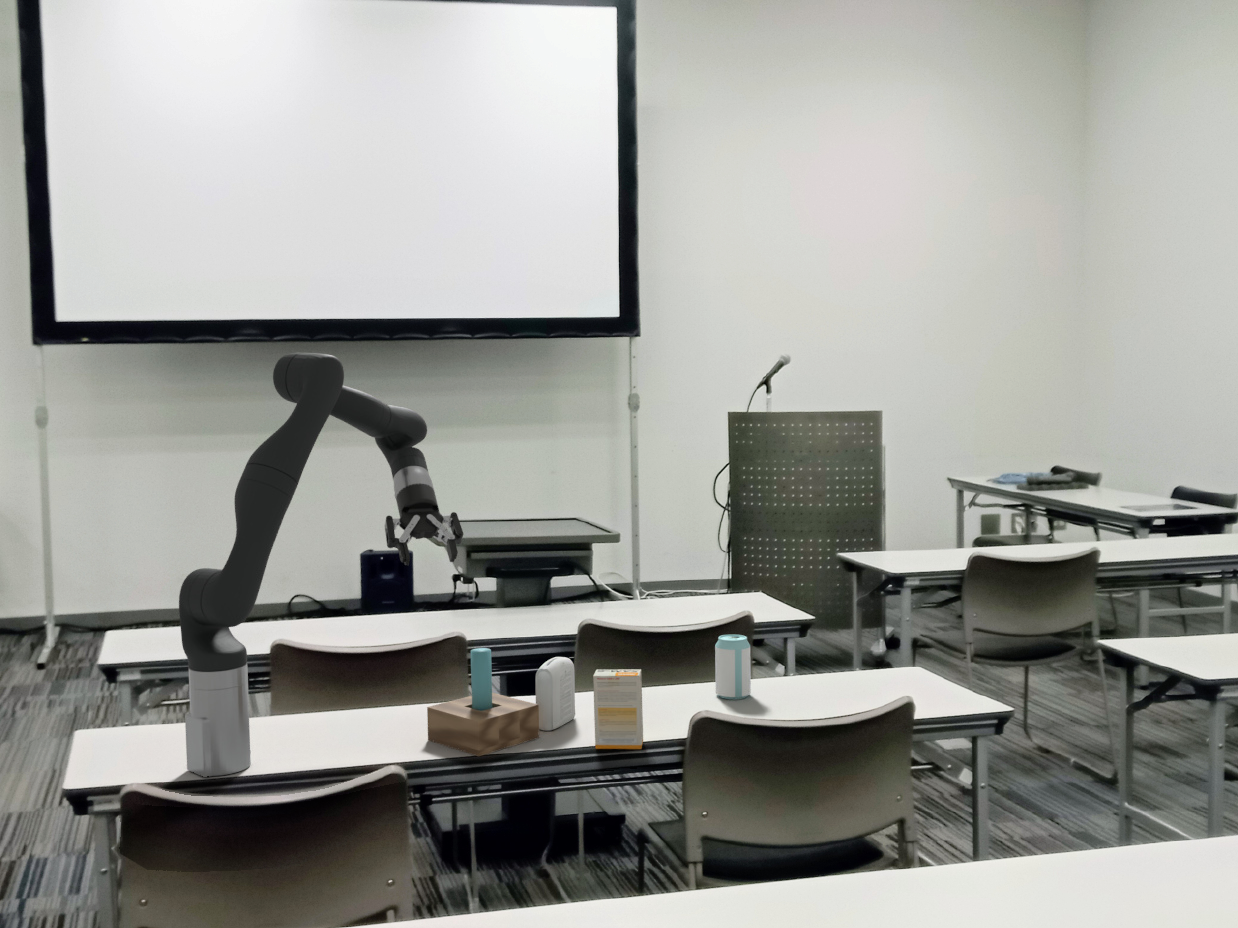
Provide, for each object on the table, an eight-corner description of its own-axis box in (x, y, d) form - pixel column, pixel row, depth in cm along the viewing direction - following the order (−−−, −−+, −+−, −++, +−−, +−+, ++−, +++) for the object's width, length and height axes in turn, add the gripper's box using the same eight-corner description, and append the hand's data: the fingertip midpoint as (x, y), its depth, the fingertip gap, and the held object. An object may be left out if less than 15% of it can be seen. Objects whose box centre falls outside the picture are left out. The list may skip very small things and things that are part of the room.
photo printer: (557, 715, 220) (556, 651, 220) (578, 717, 219) (577, 653, 218) (532, 730, 211) (531, 663, 210) (553, 732, 209) (552, 665, 209)
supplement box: (643, 741, 203) (642, 668, 202) (641, 750, 198) (640, 675, 198) (597, 741, 204) (596, 668, 203) (593, 749, 199) (592, 674, 198)
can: (711, 692, 236) (711, 634, 235) (744, 690, 237) (744, 632, 236) (720, 701, 229) (720, 641, 228) (755, 699, 230) (754, 639, 229)
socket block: (478, 756, 196) (477, 721, 196) (428, 740, 206) (427, 706, 205) (539, 737, 206) (538, 704, 206) (488, 722, 216) (487, 691, 216)
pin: (481, 737, 204) (479, 653, 203) (468, 733, 206) (466, 650, 205) (497, 732, 206) (495, 649, 205) (484, 728, 209) (482, 647, 208)
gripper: (380, 483, 219) (395, 551, 209) (454, 480, 225) (471, 546, 215) (376, 509, 224) (389, 575, 214) (447, 505, 230) (464, 570, 220)
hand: (430, 560), depth 215 cm, fingers open, 8 cm apart
